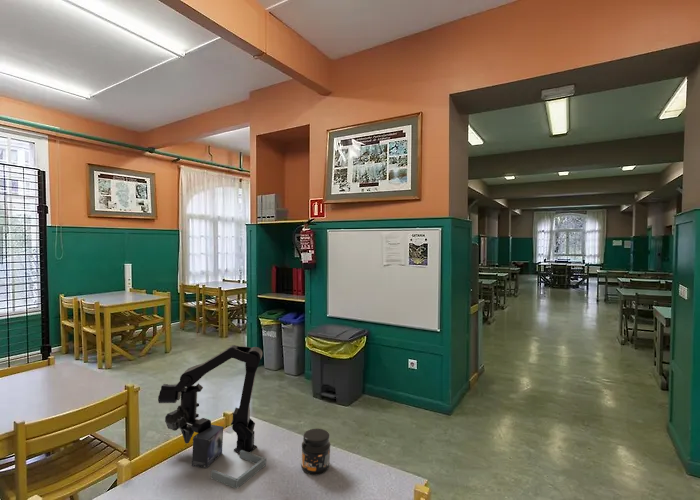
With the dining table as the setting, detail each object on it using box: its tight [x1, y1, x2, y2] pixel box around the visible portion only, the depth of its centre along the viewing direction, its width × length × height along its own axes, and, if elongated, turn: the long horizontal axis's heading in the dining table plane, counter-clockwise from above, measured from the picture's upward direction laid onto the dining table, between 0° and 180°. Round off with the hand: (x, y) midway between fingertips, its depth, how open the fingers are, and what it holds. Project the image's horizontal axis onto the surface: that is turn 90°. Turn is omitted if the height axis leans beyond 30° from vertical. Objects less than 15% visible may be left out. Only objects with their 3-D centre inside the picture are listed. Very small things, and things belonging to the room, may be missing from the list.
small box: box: [191, 424, 224, 469], centre depth 134 cm, size 11×6×10 cm, turn 168°
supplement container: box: [300, 428, 331, 476], centre depth 131 cm, size 10×10×12 cm
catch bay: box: [210, 450, 267, 490], centre depth 127 cm, size 15×12×2 cm
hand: (187, 442), depth 138 cm, fingers closed
